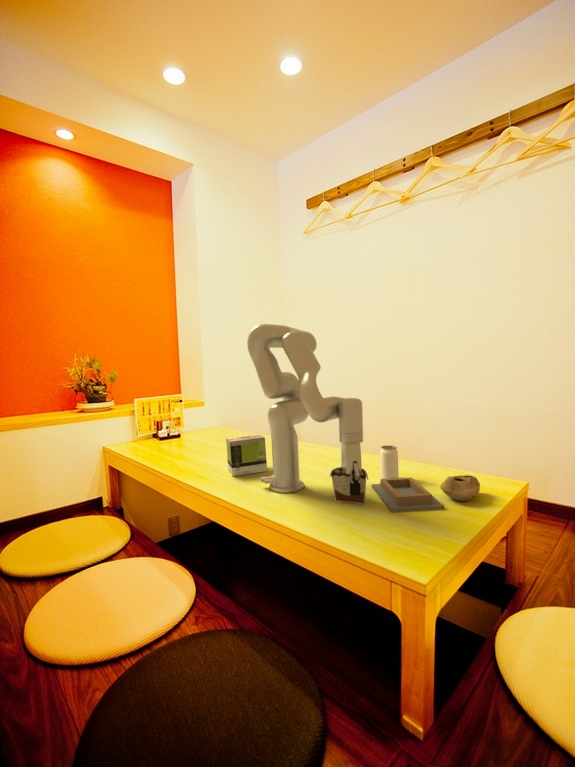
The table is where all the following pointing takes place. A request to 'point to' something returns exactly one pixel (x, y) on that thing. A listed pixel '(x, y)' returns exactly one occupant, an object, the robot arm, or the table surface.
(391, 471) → the can
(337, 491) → the food container
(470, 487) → the oil lamp
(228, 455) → the tea box
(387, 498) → the tray
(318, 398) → the robot arm
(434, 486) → the table surface
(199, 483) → the table surface
